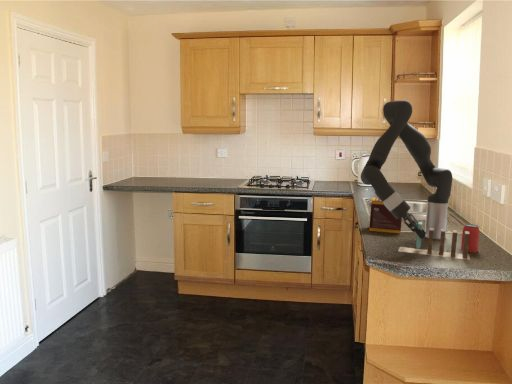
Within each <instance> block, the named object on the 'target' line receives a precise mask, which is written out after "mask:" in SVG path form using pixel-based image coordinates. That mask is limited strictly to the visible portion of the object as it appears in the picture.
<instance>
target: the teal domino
mask: <svg viewBox="0 0 512 384" xmlns="http://www.w3.org/2000/svg"><path fill="white" fill-rule="evenodd" d="M418 222H419V223H418V227H419V228H420V230H421V231H422V229H423V221H418ZM421 246H422V239H421V238H420V237H419V236H418V235H417V234H416V244H415V249H421Z"/></svg>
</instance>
